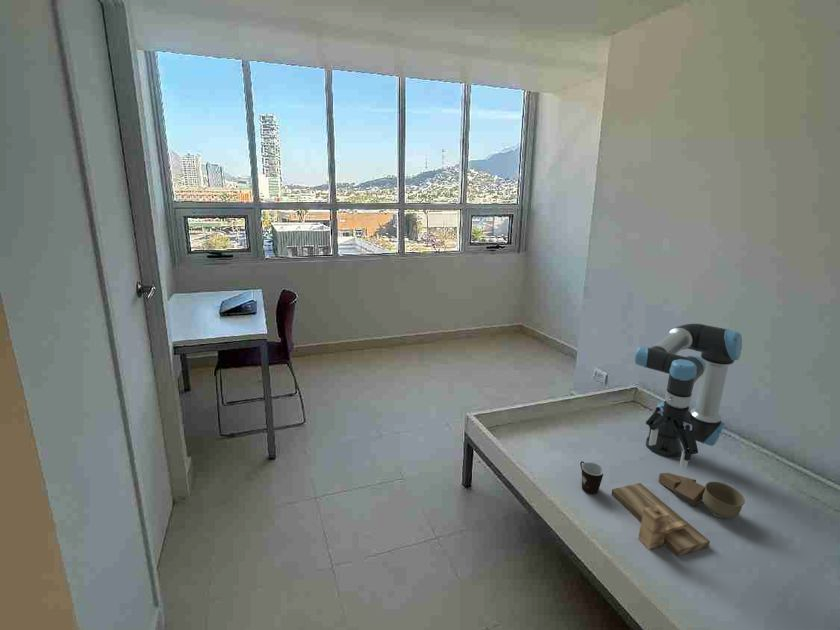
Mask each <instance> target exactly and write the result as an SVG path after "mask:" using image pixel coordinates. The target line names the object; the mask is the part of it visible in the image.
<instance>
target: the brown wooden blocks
mask: <svg viewBox="0 0 840 630" xmlns="http://www.w3.org/2000/svg"><path fill="white" fill-rule="evenodd" d="M658 482H659V484H662V485H663V486H665V487H666V488H668V489H669V490H671V491H673V492H674V493H675V496H676V497H677V498H678V499H681V500H682V501H684V502H685V503H688V504H689V505H691V506H693V507H697V505H698V504H700V503H701V501H703V498H702V497H703V493H704V491H705V486H704V485H703V484H700V483H698V482H697V479H694V478H691V477H687V476H683V475H678V474H674V473H671V472H660V473H659V477H658Z"/></svg>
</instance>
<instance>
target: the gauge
mask: <svg viewBox="0 0 840 630" xmlns="http://www.w3.org/2000/svg"><path fill="white" fill-rule="evenodd" d="M668 519H669V514H668V513H667V512H666V511H664V510H663V509H662V508H661V507H660V506H659V505H654V506H651V507H647V508H644V510H643V516H642V521H641V522H640V526H639V532H638V537H637V538H638V540H639V541H640V542H641V543H642V544H643V545H644V546H645V547H646V548H647V549H649V550H651V549H653V548H654V549H655V548H657V547H661V546H663V545H664V543H663V542H664V537H665V534H666V533H670V532H673V531H677V530H680V529H684V528H686V527H687V524H686V523H685V522H684V521H683V520H682V521H678V522H675V523H671V524H667V523H668Z"/></svg>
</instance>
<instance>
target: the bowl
mask: <svg viewBox="0 0 840 630" xmlns="http://www.w3.org/2000/svg"><path fill="white" fill-rule="evenodd" d="M704 487H705V491H704V493H703V497H702V498H703V499H702V501H703V503H704V505H705V507H706V508H707V509H708V510H709V511H710V513H712V514H713V515H714V516H716V517H718V518H735V517H737V516H739V514H740V512H741V511H742V507H743V506H744V505H745V503H746V500H745V497H744V496H743V494H742V493H741V492H740V491H739V490H737V489H736V488H734V487H732V486H730V485H728V484H726V483H723V482H719V481H709V482H706V484H705V486H704Z"/></svg>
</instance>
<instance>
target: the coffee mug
mask: <svg viewBox="0 0 840 630" xmlns="http://www.w3.org/2000/svg"><path fill="white" fill-rule="evenodd" d="M579 466H580V469H581V489H582V491H583V492H584V493H586V494H588V495H596V494H598V493H599V490H600V486H601V484H602V480H603V478H604V475H605V469H604V468H603V467H602V466H601V465H600V464H598V463H596V462H591V461H590V462H588V461H587V462H584V460H583V461H580V465H579Z"/></svg>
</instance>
